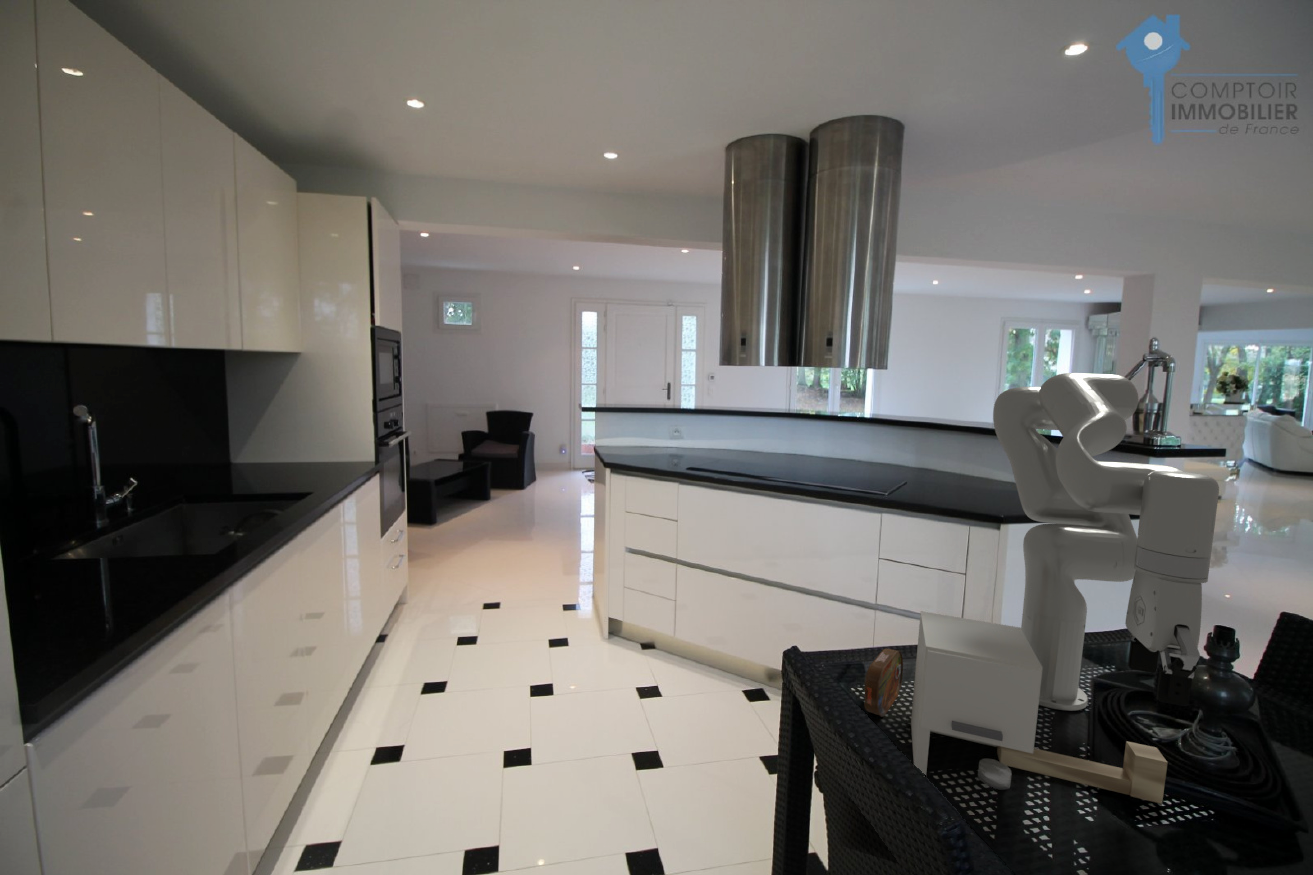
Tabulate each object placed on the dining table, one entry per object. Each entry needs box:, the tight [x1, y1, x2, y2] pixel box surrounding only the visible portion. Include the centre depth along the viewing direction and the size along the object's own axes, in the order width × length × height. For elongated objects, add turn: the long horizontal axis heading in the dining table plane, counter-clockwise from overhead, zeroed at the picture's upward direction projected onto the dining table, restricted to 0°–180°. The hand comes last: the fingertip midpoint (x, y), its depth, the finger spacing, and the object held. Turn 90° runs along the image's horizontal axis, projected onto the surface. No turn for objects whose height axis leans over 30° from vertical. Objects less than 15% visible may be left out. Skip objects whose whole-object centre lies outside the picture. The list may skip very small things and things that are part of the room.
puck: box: [977, 758, 1012, 791], centre depth 84 cm, size 4×4×2 cm
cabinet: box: [910, 611, 1043, 776], centre depth 86 cm, size 16×14×19 cm
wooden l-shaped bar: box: [996, 740, 1168, 804], centre depth 85 cm, size 4×19×6 cm, turn 69°
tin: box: [863, 648, 904, 717], centre depth 103 cm, size 15×3×8 cm, turn 143°
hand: (1156, 685), depth 81 cm, fingers open, 9 cm apart
